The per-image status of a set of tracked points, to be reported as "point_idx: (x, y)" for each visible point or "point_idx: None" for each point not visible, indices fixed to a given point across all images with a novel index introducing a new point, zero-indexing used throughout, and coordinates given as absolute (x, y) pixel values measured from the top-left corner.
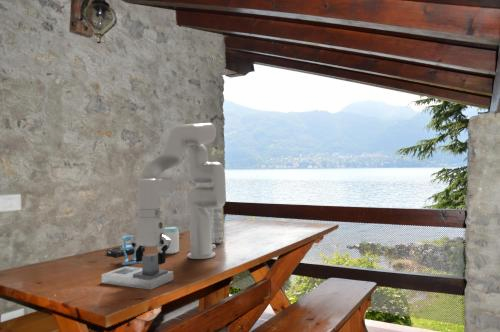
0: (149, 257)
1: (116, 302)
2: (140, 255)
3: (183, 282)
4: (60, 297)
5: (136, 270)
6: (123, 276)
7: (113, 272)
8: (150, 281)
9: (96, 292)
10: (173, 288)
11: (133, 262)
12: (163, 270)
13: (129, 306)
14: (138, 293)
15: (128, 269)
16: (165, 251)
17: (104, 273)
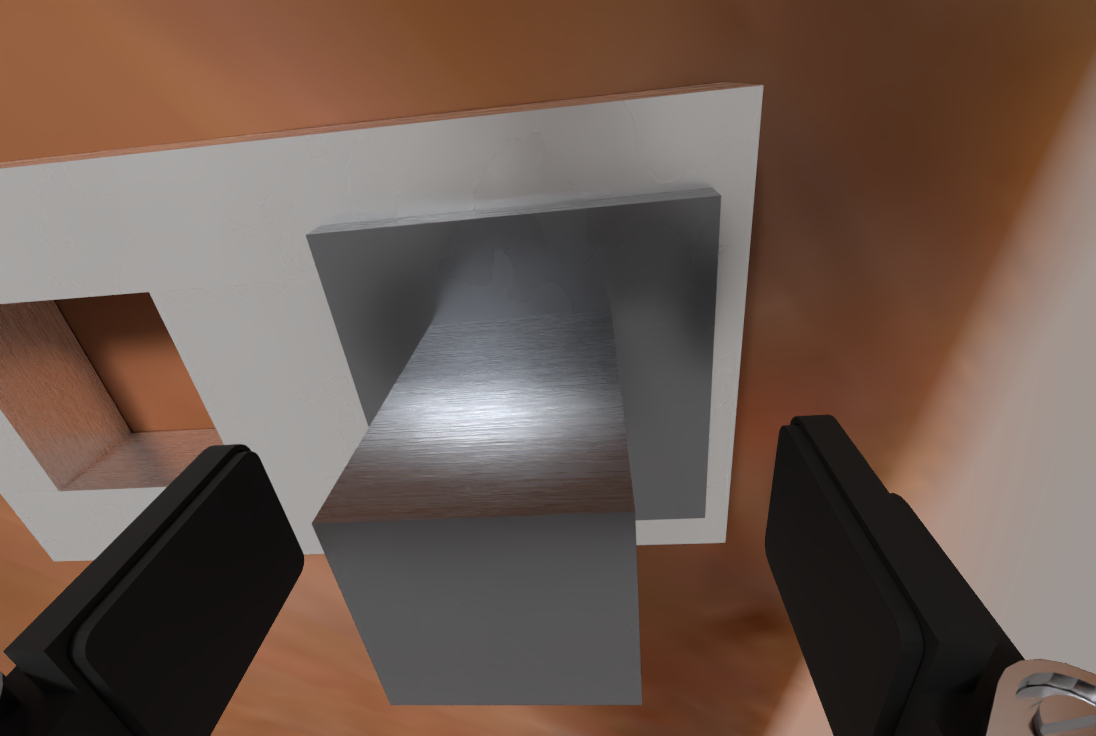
0: (590, 683)
1: (647, 698)
2: (215, 598)
3: (953, 116)
4: (261, 729)
5: (169, 308)
6: (314, 538)
7: (49, 474)
8: (714, 535)
9: (347, 635)
10: (919, 366)
11: None
12: (650, 240)
13: (780, 712)
14: (659, 564)
15: (8, 301)
16: (1064, 699)
17: (33, 533)
